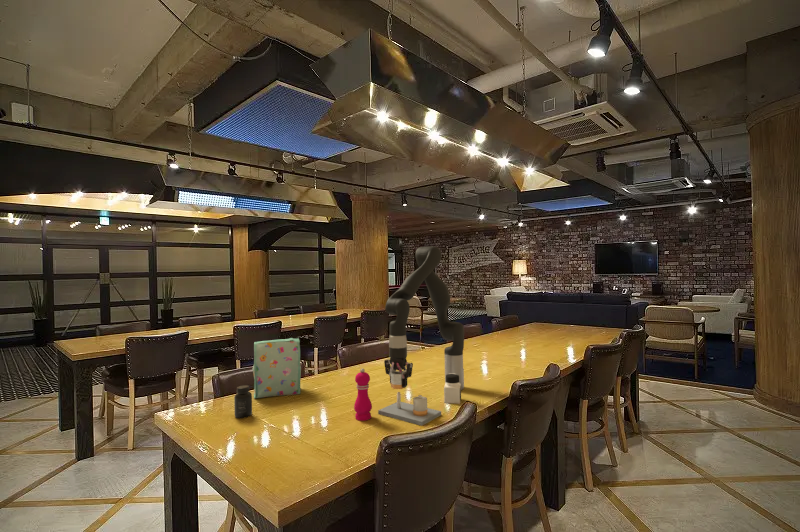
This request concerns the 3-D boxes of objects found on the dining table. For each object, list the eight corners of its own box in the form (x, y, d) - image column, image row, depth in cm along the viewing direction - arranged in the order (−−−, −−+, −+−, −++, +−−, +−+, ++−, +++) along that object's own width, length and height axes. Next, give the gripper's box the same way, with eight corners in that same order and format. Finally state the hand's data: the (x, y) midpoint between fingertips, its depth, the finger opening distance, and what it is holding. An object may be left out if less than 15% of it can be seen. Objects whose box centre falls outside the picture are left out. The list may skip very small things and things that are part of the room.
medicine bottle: (460, 403, 173) (459, 376, 173) (444, 403, 175) (443, 376, 175) (461, 398, 180) (460, 372, 180) (445, 398, 182) (445, 372, 182)
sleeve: (388, 387, 164) (388, 373, 164) (398, 384, 169) (397, 370, 169) (399, 390, 161) (398, 375, 161) (408, 386, 166) (408, 372, 166)
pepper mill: (358, 422, 153) (357, 371, 154) (351, 416, 160) (350, 367, 160) (374, 419, 157) (374, 369, 157) (367, 413, 163) (367, 365, 164)
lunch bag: (300, 386, 205) (299, 334, 206) (302, 395, 190) (301, 339, 190) (253, 391, 198) (252, 337, 198) (252, 401, 182) (251, 343, 183)
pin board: (398, 404, 174) (398, 384, 174) (441, 414, 160) (440, 393, 160) (378, 413, 163) (377, 392, 163) (421, 425, 149) (421, 402, 149)
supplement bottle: (255, 413, 165) (255, 385, 166) (244, 419, 159) (244, 389, 159) (242, 412, 168) (242, 384, 168) (230, 417, 161) (230, 388, 161)
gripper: (417, 346, 164) (417, 386, 163) (390, 342, 173) (390, 381, 172) (406, 348, 158) (406, 391, 158) (379, 345, 167) (379, 385, 166)
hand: (398, 385), depth 165 cm, fingers closed on sleeve, 5 cm apart
